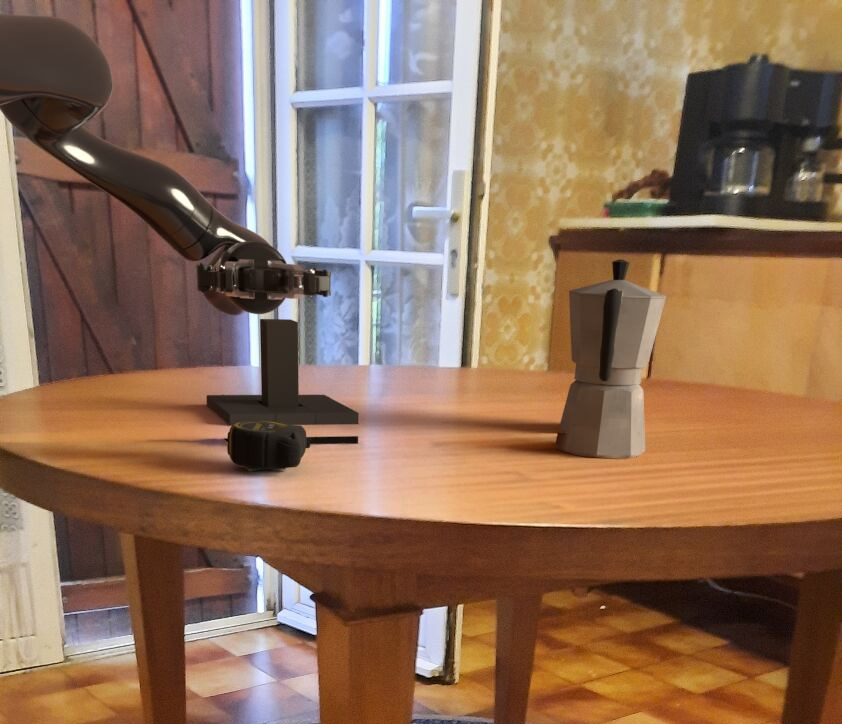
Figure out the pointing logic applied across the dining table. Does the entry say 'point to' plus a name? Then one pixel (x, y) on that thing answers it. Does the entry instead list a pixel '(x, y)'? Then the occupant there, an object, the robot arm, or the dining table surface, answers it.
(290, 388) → the bar
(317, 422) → the base pad
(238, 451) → the tape measure
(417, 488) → the dining table surface
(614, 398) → the coffeepot
